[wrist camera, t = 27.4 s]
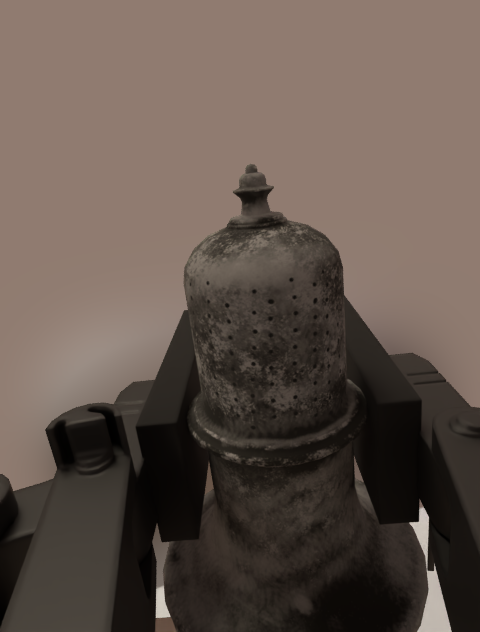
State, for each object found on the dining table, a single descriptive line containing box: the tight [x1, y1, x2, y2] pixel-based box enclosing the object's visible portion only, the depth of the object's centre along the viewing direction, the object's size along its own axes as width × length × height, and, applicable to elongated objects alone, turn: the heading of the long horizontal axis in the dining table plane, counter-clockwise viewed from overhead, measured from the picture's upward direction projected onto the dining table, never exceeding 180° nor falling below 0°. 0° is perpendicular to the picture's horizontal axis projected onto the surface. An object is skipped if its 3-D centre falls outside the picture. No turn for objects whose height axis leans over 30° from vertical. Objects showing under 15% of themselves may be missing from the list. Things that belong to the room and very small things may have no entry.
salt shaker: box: [163, 164, 428, 632], centre depth 9 cm, size 6×6×12 cm
